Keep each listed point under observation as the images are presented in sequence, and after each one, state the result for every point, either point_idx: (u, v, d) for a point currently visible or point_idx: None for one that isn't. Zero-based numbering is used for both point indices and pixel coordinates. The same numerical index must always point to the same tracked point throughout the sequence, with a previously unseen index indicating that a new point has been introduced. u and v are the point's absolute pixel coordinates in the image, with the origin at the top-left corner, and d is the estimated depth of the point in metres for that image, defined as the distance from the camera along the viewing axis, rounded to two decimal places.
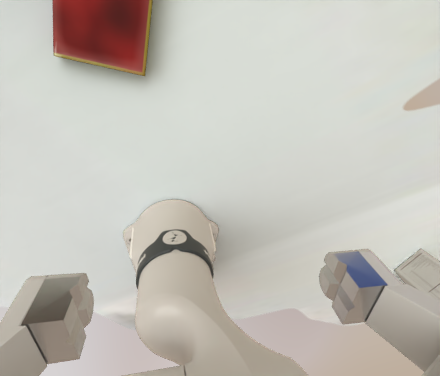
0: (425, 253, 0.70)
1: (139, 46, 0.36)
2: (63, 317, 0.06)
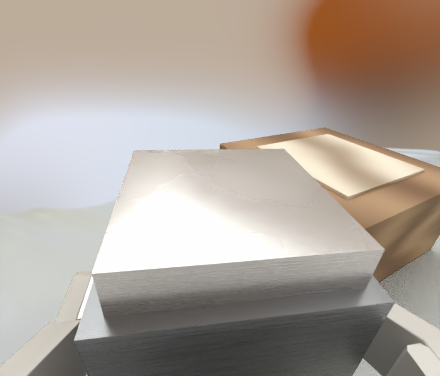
0: None
1: None
2: None
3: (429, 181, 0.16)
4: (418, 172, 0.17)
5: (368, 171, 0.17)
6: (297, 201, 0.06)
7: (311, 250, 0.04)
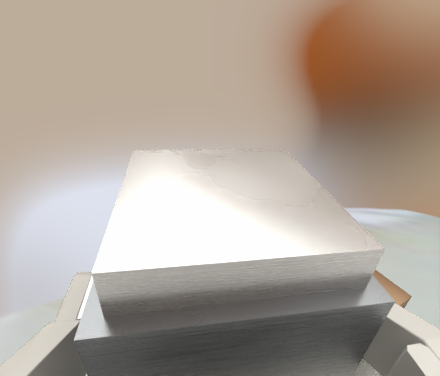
0: None
1: None
2: None
3: None
4: None
5: None
6: (297, 201, 0.06)
7: (311, 249, 0.04)
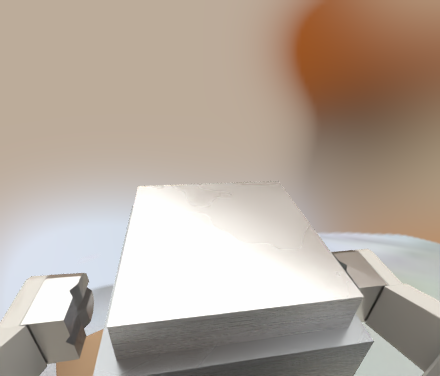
0: None
1: None
2: (63, 317, 0.06)
3: None
4: None
5: None
6: (288, 243, 0.06)
7: (298, 298, 0.05)
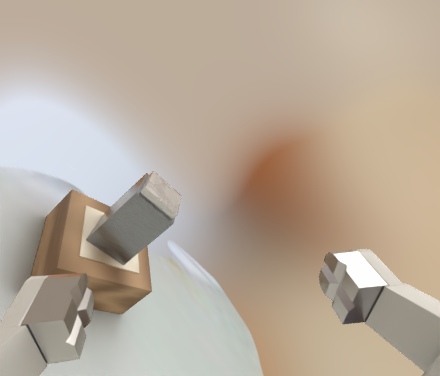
0: None
1: None
2: (63, 317, 0.06)
3: (130, 278, 0.32)
4: (134, 272, 0.33)
5: None
6: (173, 203, 0.31)
7: (169, 207, 0.29)
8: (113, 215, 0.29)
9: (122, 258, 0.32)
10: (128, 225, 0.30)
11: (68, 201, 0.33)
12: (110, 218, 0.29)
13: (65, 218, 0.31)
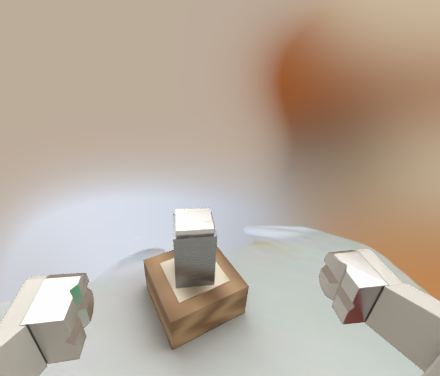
0: None
1: None
2: (63, 317, 0.06)
3: (225, 289, 0.37)
4: (225, 282, 0.38)
5: None
6: (205, 221, 0.34)
7: (203, 228, 0.33)
8: (175, 262, 0.34)
9: (209, 281, 0.37)
10: (191, 260, 0.35)
11: (147, 270, 0.40)
12: (175, 265, 0.35)
13: (153, 283, 0.38)
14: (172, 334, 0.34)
